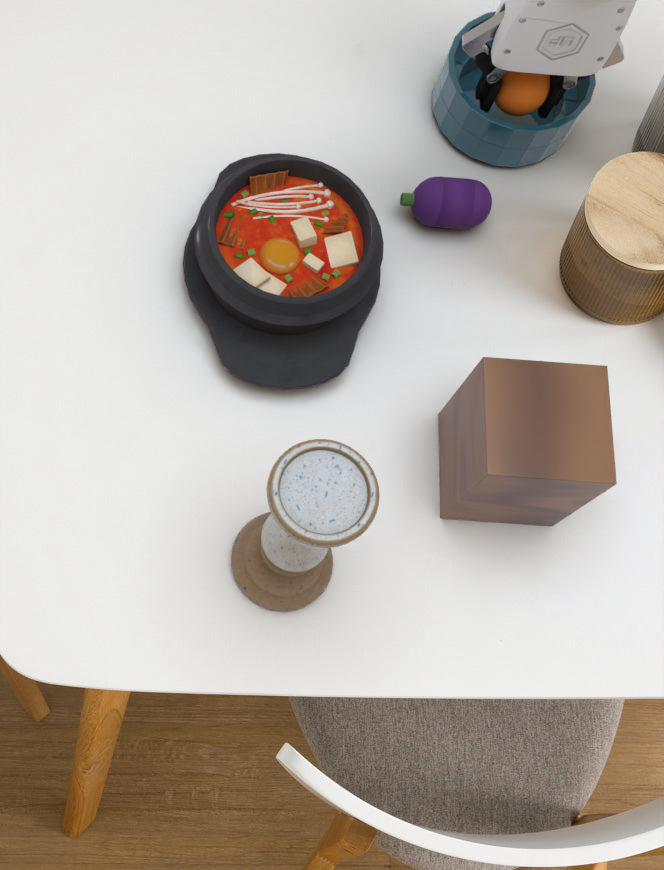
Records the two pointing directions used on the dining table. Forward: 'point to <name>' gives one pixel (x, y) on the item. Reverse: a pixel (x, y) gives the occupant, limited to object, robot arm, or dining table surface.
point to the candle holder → (304, 523)
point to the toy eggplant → (449, 202)
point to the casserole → (284, 268)
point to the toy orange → (522, 92)
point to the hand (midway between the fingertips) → (512, 102)
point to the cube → (525, 442)
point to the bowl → (499, 114)
